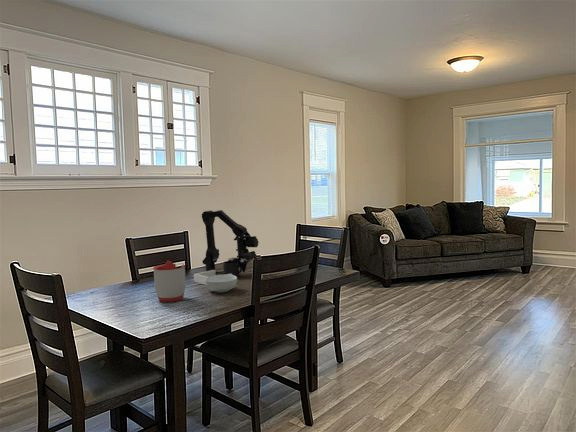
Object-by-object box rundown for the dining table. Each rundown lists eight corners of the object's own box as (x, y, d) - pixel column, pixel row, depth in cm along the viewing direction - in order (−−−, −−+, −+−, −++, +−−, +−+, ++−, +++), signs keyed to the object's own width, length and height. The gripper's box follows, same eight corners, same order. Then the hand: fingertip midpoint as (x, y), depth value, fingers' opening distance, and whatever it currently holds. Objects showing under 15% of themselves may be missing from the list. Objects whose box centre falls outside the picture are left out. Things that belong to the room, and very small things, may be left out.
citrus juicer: (195, 296, 232) (193, 257, 230) (171, 305, 217) (168, 264, 216) (173, 293, 240) (171, 256, 238) (148, 301, 225) (145, 262, 224)
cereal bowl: (199, 293, 239) (198, 280, 238) (218, 285, 253) (217, 273, 253) (225, 296, 231) (225, 282, 230) (243, 288, 245) (243, 275, 245)
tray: (194, 281, 266) (193, 273, 266) (214, 277, 276) (214, 269, 275) (211, 286, 253) (210, 278, 252) (232, 281, 263) (231, 273, 262)
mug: (238, 278, 267) (236, 263, 266) (221, 278, 272) (219, 263, 272) (246, 275, 276) (245, 260, 275) (229, 274, 281) (228, 260, 280)
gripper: (237, 250, 265) (239, 276, 267) (262, 245, 278) (263, 270, 280) (226, 249, 273) (228, 274, 275) (250, 244, 286) (252, 269, 288)
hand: (243, 272), depth 279 cm, fingers closed
